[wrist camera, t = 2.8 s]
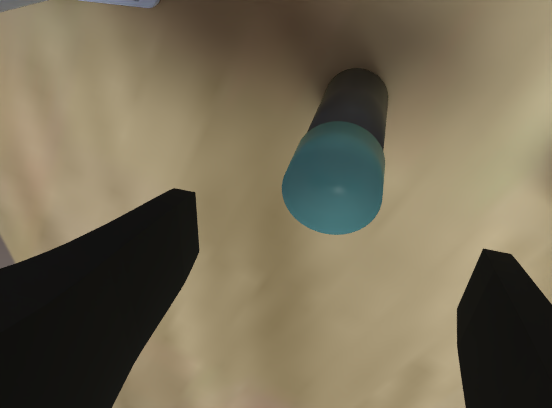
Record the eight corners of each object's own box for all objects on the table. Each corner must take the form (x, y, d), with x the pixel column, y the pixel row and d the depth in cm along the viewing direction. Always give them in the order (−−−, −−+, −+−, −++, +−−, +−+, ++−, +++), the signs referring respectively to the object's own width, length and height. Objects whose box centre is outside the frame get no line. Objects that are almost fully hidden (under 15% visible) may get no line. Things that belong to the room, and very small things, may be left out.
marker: (319, 125, 20) (279, 224, 14) (327, 61, 19) (285, 141, 12) (383, 135, 20) (371, 242, 13) (397, 70, 18) (392, 158, 12)
